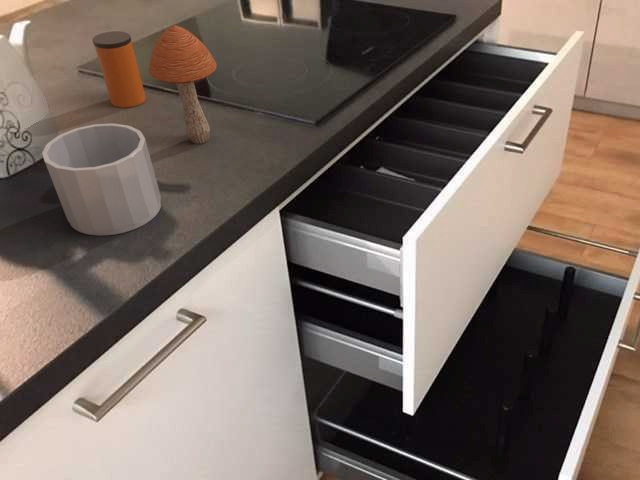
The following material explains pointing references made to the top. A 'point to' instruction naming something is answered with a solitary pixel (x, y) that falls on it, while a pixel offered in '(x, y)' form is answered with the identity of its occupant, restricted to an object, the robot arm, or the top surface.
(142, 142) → the faceted grey planter pot
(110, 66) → the tube
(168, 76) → the mushroom
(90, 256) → the top surface
